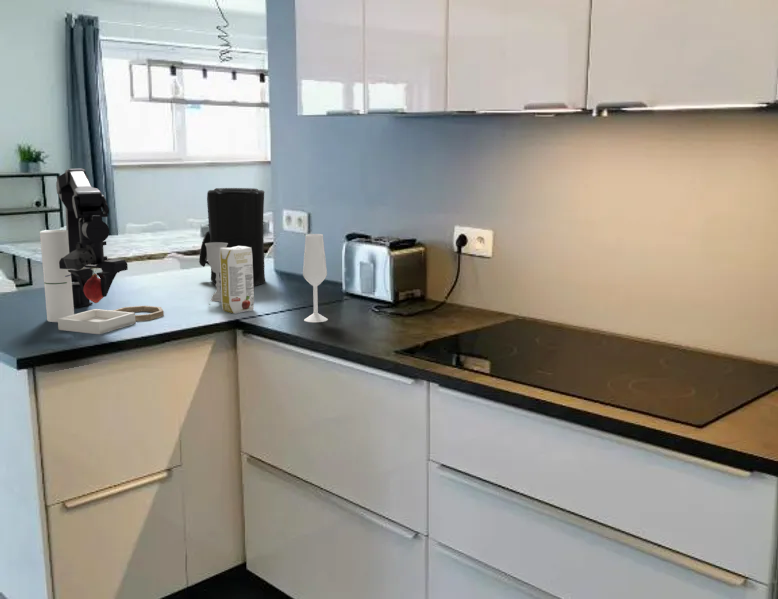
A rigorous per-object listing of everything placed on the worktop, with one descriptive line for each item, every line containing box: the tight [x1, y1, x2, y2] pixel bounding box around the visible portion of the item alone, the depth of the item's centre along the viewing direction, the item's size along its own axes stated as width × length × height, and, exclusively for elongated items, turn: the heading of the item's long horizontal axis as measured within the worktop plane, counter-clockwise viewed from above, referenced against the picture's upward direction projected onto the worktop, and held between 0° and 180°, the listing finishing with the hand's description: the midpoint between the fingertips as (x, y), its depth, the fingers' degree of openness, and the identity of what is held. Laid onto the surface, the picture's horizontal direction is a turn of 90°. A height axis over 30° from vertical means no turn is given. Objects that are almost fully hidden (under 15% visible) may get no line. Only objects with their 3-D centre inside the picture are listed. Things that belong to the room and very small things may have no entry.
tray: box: [57, 308, 137, 335], centre depth 217 cm, size 14×14×3 cm
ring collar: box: [112, 305, 165, 322], centre depth 230 cm, size 14×14×2 cm
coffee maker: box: [198, 187, 266, 287], centre depth 281 cm, size 23×32×34 cm
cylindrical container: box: [39, 229, 75, 323], centre depth 223 cm, size 7×7×25 cm
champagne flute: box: [302, 233, 329, 323], centre depth 223 cm, size 7×7×24 cm
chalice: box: [205, 242, 228, 302], centre depth 252 cm, size 7×7×18 cm
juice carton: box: [220, 246, 255, 315], centre depth 235 cm, size 8×9×19 cm
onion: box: [83, 273, 104, 304], centre depth 215 cm, size 6×6×8 cm
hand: (95, 295), depth 215 cm, fingers closed on onion, 6 cm apart
